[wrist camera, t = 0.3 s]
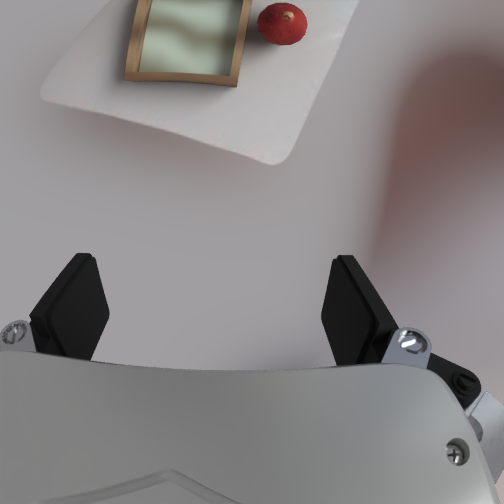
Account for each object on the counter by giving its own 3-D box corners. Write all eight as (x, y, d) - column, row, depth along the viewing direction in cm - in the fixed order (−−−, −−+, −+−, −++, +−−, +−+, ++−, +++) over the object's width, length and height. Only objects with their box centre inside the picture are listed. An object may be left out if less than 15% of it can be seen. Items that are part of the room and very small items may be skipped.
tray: (149, -9, 26) (142, -17, 22) (253, -5, 27) (255, -14, 24) (132, 81, 32) (123, 79, 29) (236, 87, 34) (236, 85, 31)
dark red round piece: (250, 43, 31) (254, 29, 24) (261, 7, 28) (267, -13, 21) (294, 54, 32) (309, 43, 25) (304, 19, 29) (320, 2, 22)
